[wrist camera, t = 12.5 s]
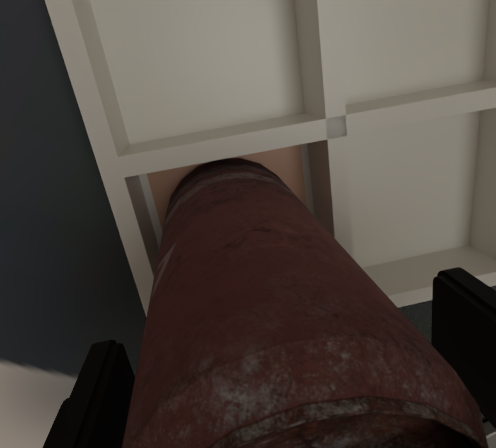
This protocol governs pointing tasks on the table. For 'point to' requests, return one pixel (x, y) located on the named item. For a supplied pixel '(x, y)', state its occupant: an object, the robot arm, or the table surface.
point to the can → (280, 334)
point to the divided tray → (300, 119)
